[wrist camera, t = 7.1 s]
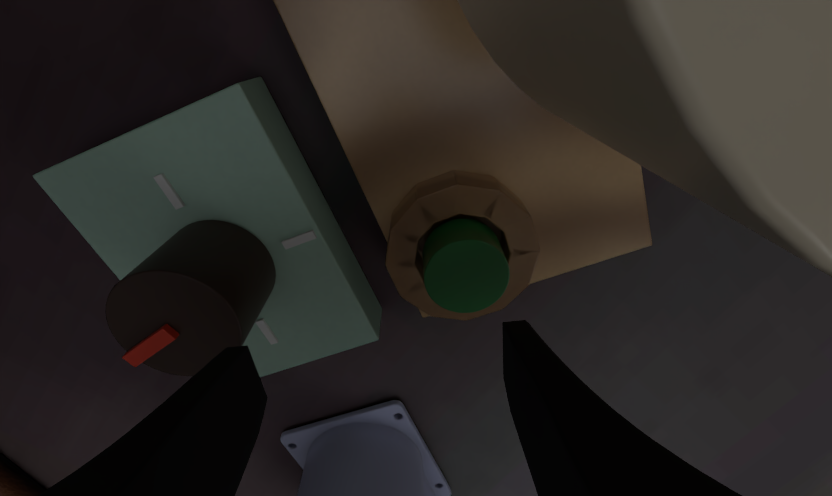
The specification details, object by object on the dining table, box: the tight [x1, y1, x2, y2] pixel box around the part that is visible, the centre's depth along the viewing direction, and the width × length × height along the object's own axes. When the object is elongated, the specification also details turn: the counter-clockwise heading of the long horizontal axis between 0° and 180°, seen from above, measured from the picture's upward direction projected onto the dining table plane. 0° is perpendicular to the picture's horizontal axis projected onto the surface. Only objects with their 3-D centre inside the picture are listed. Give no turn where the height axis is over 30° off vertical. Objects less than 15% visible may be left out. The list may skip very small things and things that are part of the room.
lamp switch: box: [423, 218, 510, 313], centre depth 16 cm, size 3×3×2 cm
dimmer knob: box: [106, 220, 276, 376], centre depth 16 cm, size 4×4×4 cm
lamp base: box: [273, 0, 652, 320], centre depth 16 cm, size 15×11×3 cm
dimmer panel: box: [33, 77, 382, 377], centre depth 19 cm, size 12×9×3 cm
